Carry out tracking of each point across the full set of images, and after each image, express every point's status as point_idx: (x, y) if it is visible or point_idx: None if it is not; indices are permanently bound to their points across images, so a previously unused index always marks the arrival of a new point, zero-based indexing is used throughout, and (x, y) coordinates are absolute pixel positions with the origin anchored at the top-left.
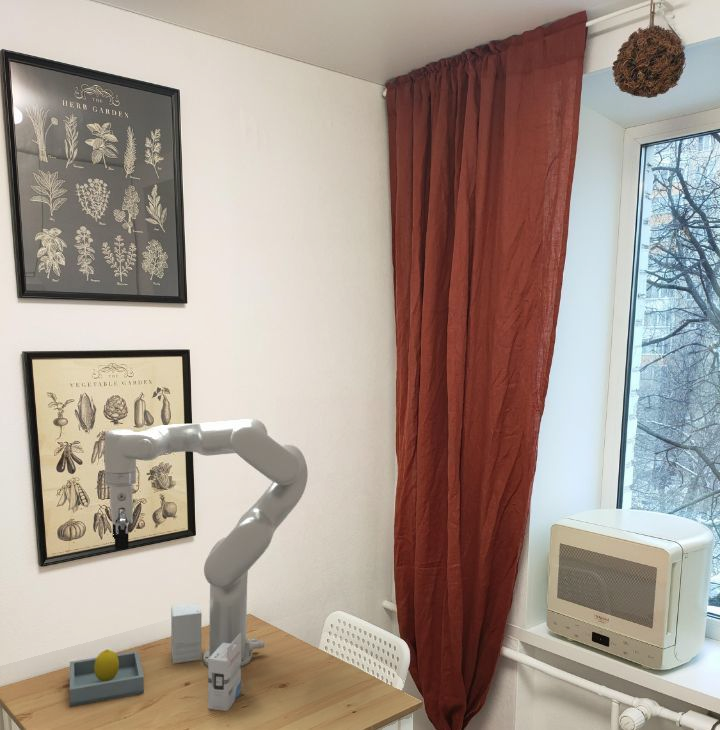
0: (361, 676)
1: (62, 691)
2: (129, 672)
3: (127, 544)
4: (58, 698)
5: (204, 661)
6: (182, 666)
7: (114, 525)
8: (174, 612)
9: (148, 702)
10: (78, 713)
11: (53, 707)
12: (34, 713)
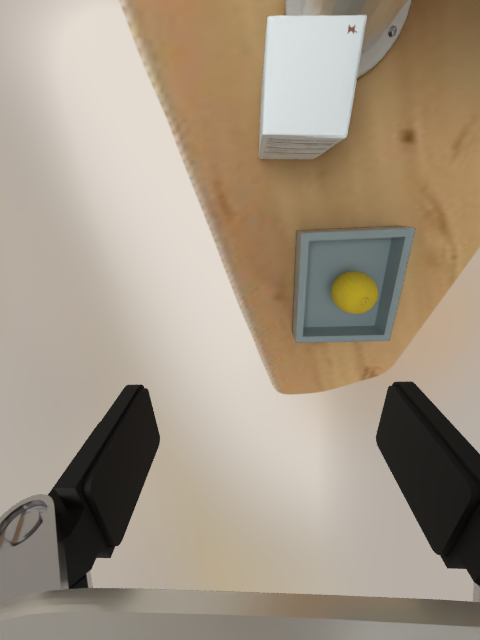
0: None
1: None
2: (325, 247)
3: (425, 404)
4: None
5: None
6: None
7: (118, 534)
8: (321, 128)
9: (432, 219)
10: (401, 318)
11: (366, 346)
12: (369, 364)
